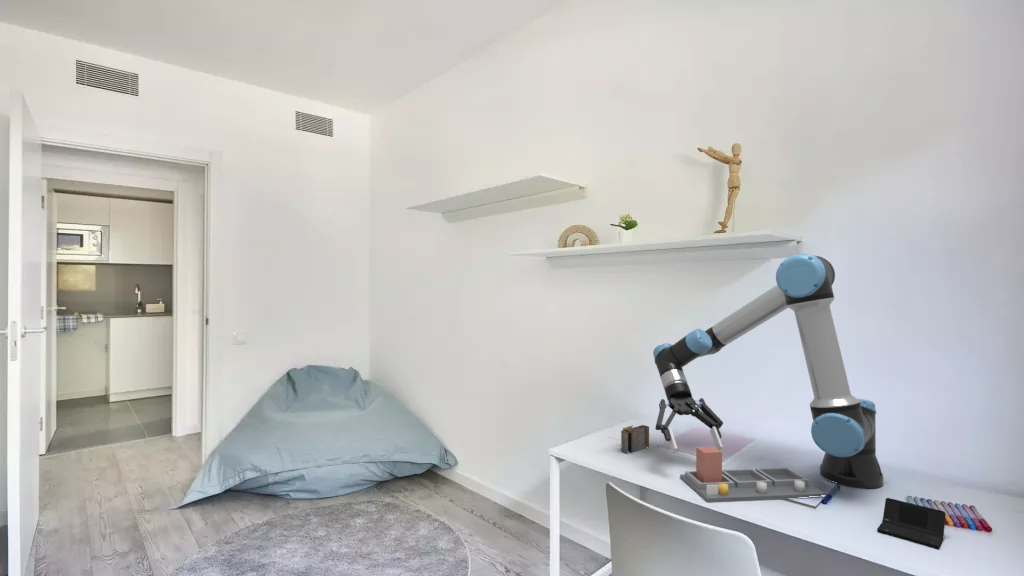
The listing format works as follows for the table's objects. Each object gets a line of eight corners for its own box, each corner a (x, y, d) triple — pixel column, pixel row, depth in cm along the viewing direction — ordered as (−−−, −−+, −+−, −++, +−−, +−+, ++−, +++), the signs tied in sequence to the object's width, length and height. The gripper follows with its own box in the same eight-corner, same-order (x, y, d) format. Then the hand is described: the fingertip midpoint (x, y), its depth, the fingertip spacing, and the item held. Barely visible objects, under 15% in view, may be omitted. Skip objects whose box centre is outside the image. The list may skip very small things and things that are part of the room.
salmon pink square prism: (713, 478, 146) (713, 446, 146) (722, 485, 141) (722, 452, 141) (696, 479, 146) (696, 447, 146) (704, 485, 141) (704, 452, 141)
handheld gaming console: (877, 529, 114) (884, 486, 118) (875, 538, 119) (882, 496, 123) (944, 552, 107) (950, 506, 111) (939, 561, 112) (945, 516, 116)
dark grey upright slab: (628, 455, 170) (628, 426, 170) (621, 453, 173) (621, 424, 173) (650, 449, 177) (650, 420, 177) (643, 447, 180) (643, 419, 180)
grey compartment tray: (785, 473, 152) (785, 462, 152) (825, 497, 135) (825, 484, 135) (680, 477, 149) (680, 466, 149) (707, 502, 132) (707, 489, 132)
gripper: (710, 393, 168) (734, 454, 153) (635, 395, 166) (652, 457, 151) (718, 379, 163) (743, 442, 148) (640, 381, 160) (659, 445, 146)
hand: (697, 450), depth 149 cm, fingers open, 13 cm apart
